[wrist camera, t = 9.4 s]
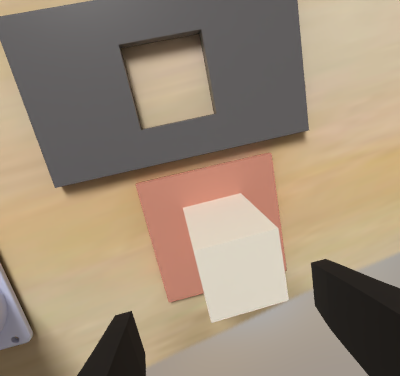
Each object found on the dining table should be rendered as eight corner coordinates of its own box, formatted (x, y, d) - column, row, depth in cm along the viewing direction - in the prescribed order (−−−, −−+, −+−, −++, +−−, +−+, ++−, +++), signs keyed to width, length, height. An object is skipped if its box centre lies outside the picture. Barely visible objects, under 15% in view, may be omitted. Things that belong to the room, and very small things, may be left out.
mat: (168, 298, 20) (168, 302, 19) (136, 183, 17) (135, 184, 17) (284, 267, 20) (286, 270, 20) (268, 152, 18) (271, 153, 18)
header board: (59, 184, 17) (55, 187, 16) (1, 23, 14) (-9, 17, 13) (302, 129, 18) (308, 130, 17) (287, -27, 15) (294, -35, 15)
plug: (195, 260, 19) (211, 322, 13) (182, 207, 18) (193, 250, 12) (250, 245, 19) (288, 300, 13) (240, 193, 18) (278, 228, 12)
